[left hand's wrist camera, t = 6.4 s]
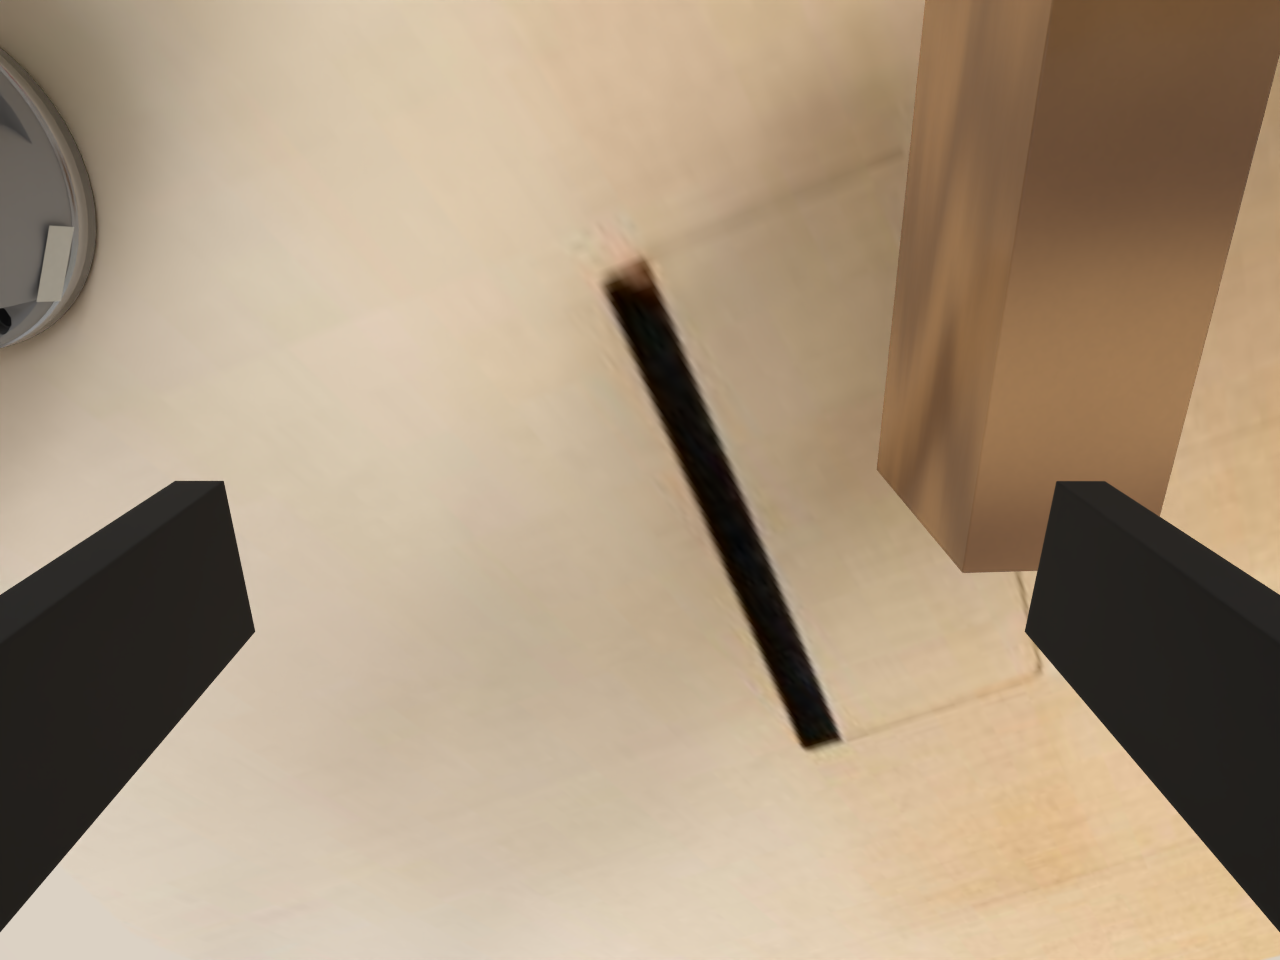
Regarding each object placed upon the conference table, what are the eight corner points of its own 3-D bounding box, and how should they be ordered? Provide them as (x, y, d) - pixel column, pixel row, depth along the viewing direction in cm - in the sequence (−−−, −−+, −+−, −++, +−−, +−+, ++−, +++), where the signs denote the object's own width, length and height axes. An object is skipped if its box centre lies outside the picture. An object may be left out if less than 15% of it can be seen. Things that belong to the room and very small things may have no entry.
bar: (1015, 465, 30) (1147, 568, 22) (876, 470, 30) (961, 573, 22) (1146, -276, 21) (1427, -507, 14) (953, -273, 21) (1131, -505, 14)
